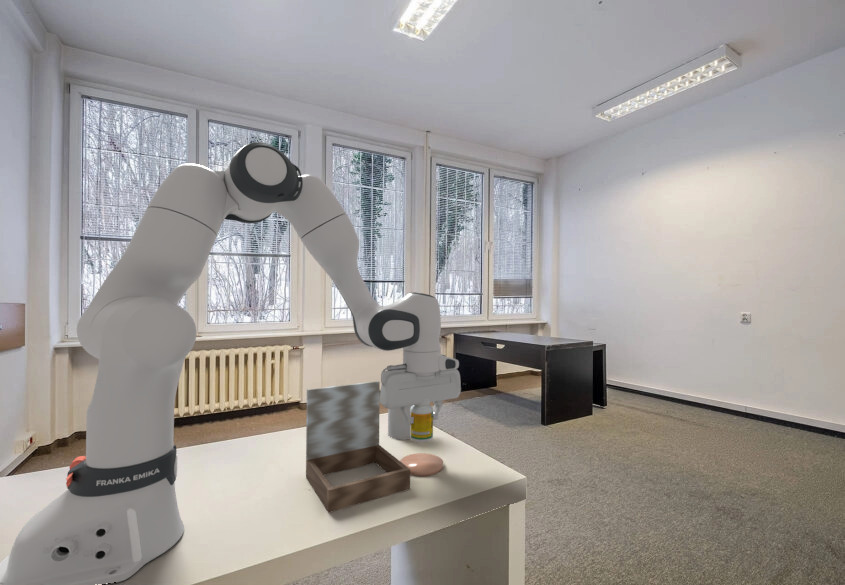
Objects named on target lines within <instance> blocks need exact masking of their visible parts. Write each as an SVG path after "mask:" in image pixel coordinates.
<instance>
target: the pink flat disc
mask: <svg viewBox="0 0 845 585" xmlns="http://www.w3.org/2000/svg"><path fill="white" fill-rule="evenodd" d="M399 461H400V462H402V463H403V464H404V465H405V466H407V467H408V468H409V469H410V476H416V477H429V476H430V477H431V476H433V475H436V474H439V473H441V472H442V471H443V469H444V460H443V459H442V458H441V457H440V456H438V455H436V454H432V453H424V452H417V453H412V454H411V453H410V454H407V455H406V456H404V457H403V456H402V458H401V459H400V460H399Z"/></svg>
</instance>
